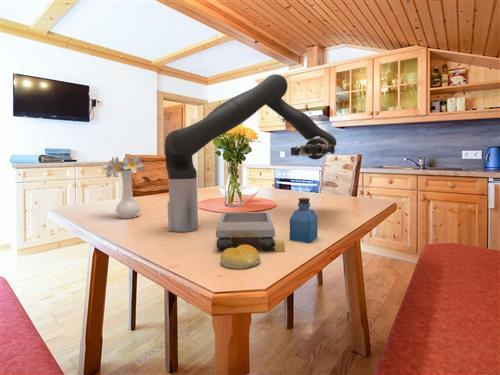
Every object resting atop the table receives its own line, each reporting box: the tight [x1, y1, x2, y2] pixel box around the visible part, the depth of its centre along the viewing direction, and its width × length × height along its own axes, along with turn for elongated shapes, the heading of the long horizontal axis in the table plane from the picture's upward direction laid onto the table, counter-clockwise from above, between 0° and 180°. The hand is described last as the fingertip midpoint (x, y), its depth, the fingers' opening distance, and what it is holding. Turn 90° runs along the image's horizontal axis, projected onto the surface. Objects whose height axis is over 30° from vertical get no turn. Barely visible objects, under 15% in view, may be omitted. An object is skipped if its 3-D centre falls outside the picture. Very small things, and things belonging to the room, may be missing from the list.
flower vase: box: [101, 155, 147, 219], centre depth 116 cm, size 13×18×25 cm
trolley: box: [215, 211, 286, 253], centre depth 80 cm, size 18×15×8 cm
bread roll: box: [220, 244, 261, 270], centre depth 66 cm, size 8×9×4 cm
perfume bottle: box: [289, 197, 319, 244], centre depth 84 cm, size 6×6×12 cm
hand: (309, 151), depth 91 cm, fingers open, 8 cm apart
